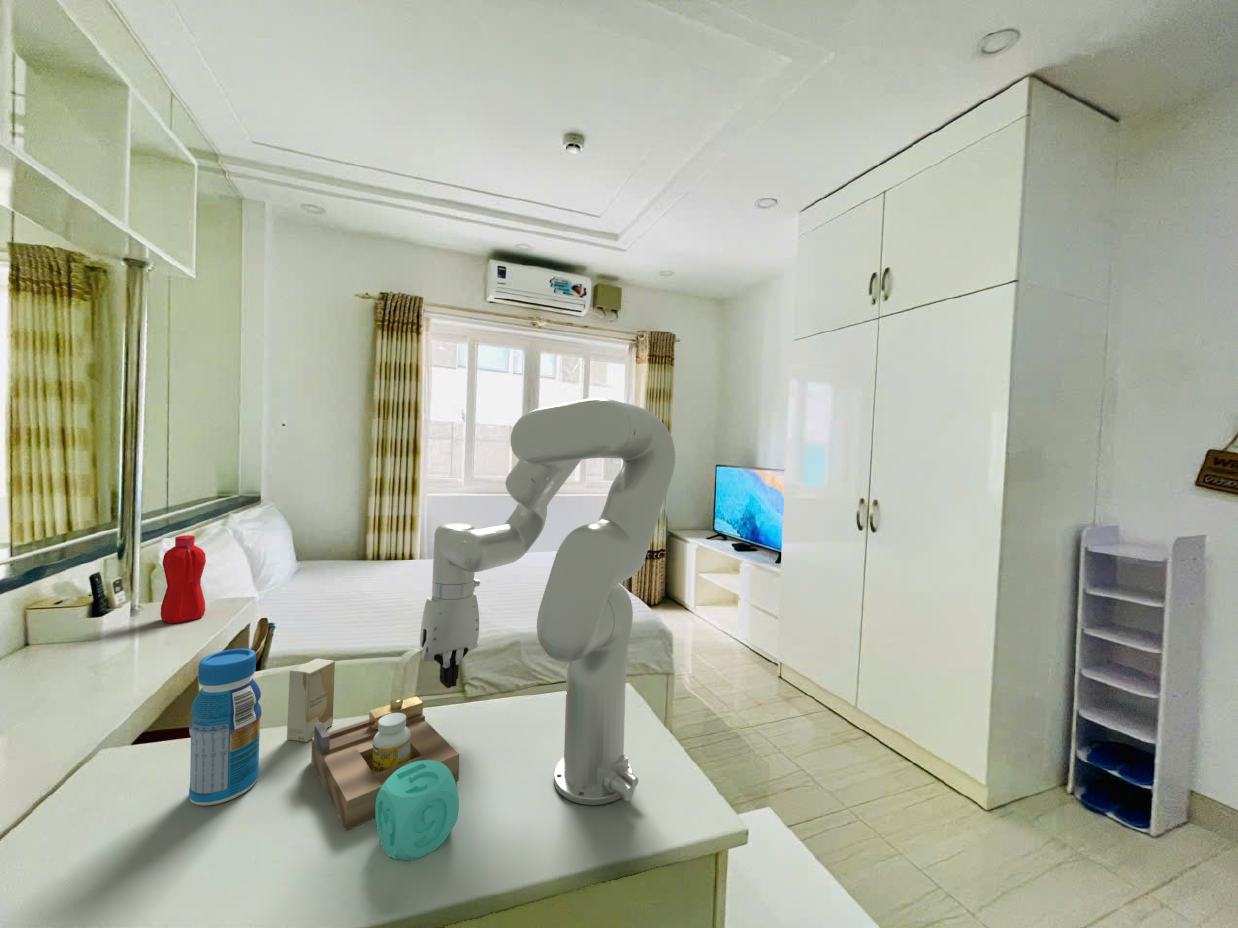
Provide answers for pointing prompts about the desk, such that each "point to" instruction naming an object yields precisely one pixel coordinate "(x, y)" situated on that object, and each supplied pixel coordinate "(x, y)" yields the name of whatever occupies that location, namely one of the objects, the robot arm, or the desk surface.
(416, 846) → the decorative dice
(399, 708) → the latch bar
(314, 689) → the skincare box
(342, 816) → the socket block
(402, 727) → the supplement bottle
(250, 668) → the beverage bottle
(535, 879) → the desk surface
